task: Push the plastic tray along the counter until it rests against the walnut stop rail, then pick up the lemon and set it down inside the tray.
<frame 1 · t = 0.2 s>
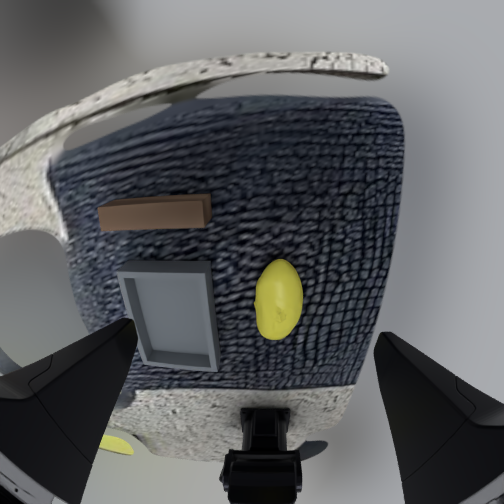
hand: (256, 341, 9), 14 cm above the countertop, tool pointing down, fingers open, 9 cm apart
lemon: (277, 290, 25), on the countertop
stop rail: (160, 207, 22), on the countertop
tray: (175, 312, 26), on the countertop
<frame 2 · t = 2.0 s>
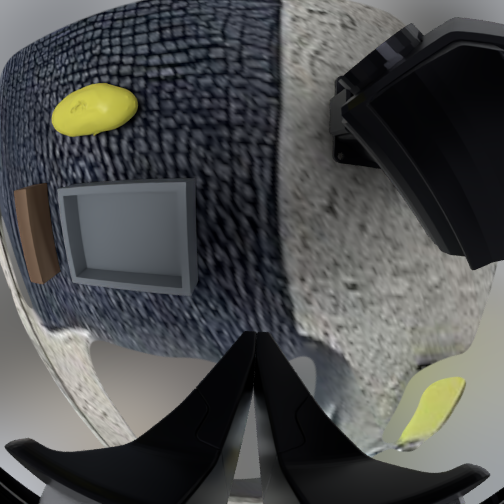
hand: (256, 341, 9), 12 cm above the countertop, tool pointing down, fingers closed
lemon: (104, 111, 17), on the countertop
stop rail: (45, 228, 21), on the countertop
tray: (131, 230, 21), on the countertop
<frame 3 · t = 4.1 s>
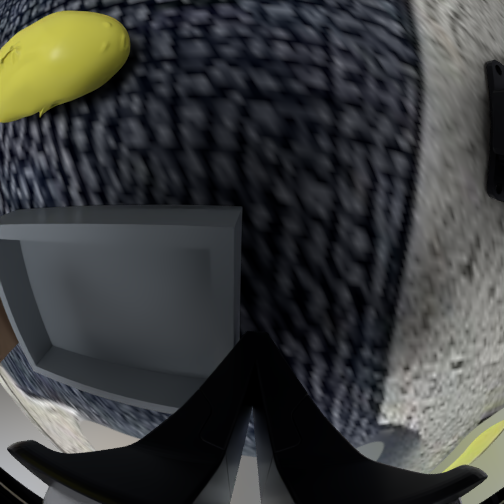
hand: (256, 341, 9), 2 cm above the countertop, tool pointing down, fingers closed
lemon: (68, 73, 7), on the countertop
tray: (112, 298, 11), on the countertop, touching gripper
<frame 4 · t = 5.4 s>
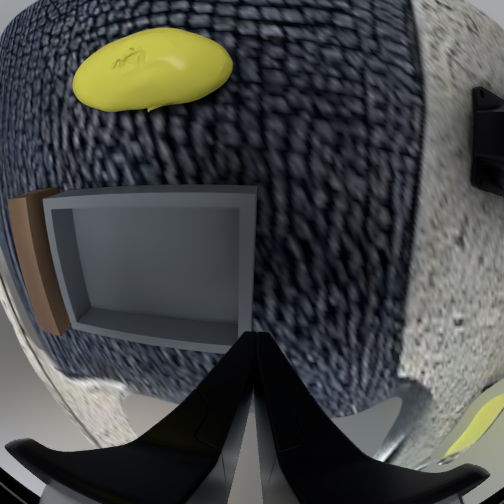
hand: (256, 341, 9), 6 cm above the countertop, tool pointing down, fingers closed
lemon: (160, 78, 11), on the countertop
stop rail: (57, 253, 15), on the countertop
tray: (153, 258, 15), on the countertop
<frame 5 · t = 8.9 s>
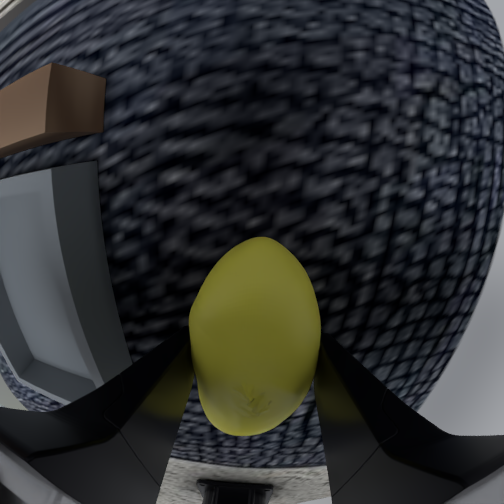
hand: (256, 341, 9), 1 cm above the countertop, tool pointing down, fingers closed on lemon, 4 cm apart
lemon: (256, 321, 10), on the countertop, touching gripper
stop rail: (26, 127, 7), on the countertop
tray: (49, 290, 10), on the countertop
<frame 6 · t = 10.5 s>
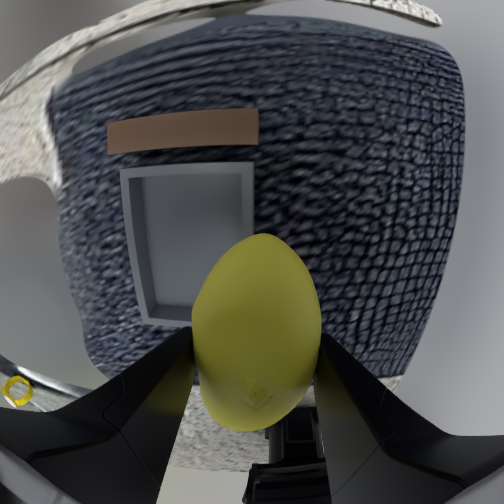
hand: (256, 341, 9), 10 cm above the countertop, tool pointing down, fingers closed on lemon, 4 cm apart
lemon: (257, 317, 10), point 9 cm above the countertop, touching gripper
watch: (25, 380, 30), on the countertop
stop rail: (189, 132, 16), on the countertop
tray: (195, 242, 19), on the countertop
when the fingers open (4 cm above the countertop, at t = 12.2 s): lemon drops 2 cm, resting on tray.
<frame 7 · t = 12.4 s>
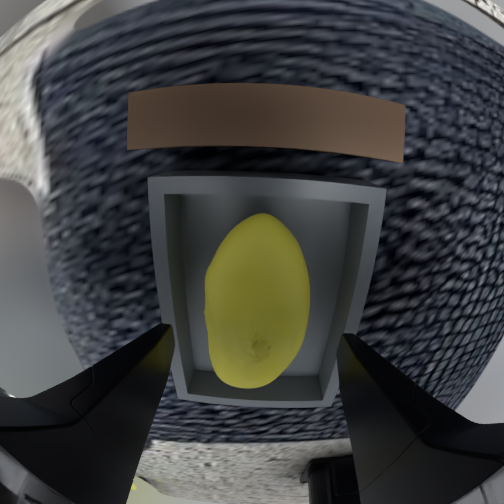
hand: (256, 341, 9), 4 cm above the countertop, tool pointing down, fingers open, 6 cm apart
lemon: (257, 289, 12), resting on tray
stop rail: (266, 123, 10), on the countertop
tray: (261, 293, 13), on the countertop, touching lemon
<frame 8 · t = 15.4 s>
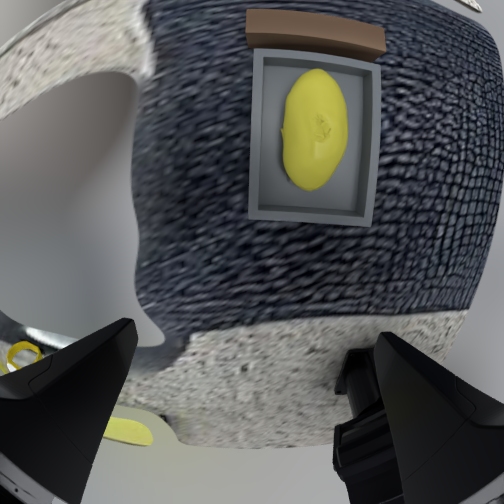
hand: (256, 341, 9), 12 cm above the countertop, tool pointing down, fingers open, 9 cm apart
lemon: (310, 130, 17), resting on tray
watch: (34, 346, 28), on the countertop
stop rail: (311, 41, 15), on the countertop
tray: (311, 136, 17), on the countertop, touching lemon
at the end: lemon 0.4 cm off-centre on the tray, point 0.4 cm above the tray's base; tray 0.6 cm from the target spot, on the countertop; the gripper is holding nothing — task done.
